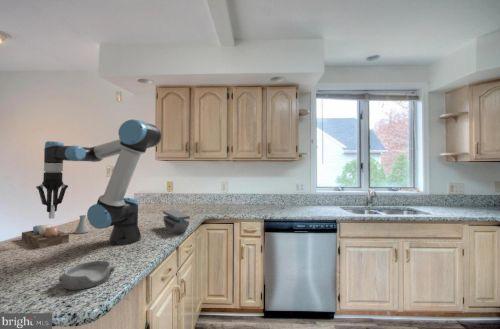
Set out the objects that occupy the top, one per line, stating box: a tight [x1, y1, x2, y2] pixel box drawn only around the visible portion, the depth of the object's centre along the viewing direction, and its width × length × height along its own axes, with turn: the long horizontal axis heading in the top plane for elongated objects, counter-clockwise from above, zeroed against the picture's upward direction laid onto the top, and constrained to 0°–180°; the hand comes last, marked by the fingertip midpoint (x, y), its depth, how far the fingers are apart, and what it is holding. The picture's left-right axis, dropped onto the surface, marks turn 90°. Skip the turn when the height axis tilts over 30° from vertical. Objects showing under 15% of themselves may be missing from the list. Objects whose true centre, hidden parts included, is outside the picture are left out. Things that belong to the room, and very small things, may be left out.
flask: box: [74, 214, 91, 234], centre depth 145 cm, size 7×7×10 cm
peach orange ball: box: [45, 226, 59, 238], centre depth 123 cm, size 5×5×5 cm
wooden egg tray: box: [21, 230, 70, 249], centre depth 127 cm, size 24×12×4 cm, turn 58°
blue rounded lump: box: [32, 224, 42, 233], centre depth 132 cm, size 5×5×5 cm
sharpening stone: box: [162, 209, 191, 235], centre depth 152 cm, size 25×8×11 cm, turn 37°
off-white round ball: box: [38, 224, 53, 236], centre depth 128 cm, size 5×5×5 cm
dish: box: [58, 259, 116, 291], centre depth 84 cm, size 14×14×5 cm
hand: (51, 218), depth 123 cm, fingers closed
